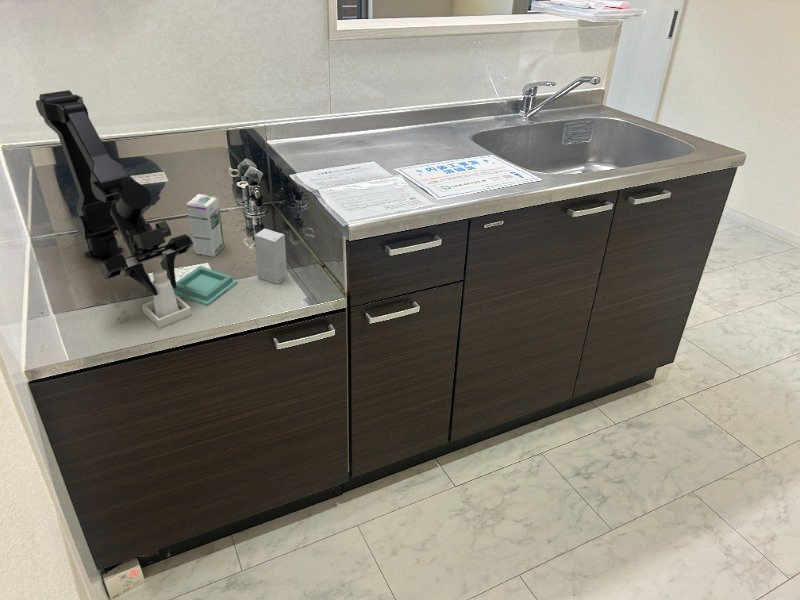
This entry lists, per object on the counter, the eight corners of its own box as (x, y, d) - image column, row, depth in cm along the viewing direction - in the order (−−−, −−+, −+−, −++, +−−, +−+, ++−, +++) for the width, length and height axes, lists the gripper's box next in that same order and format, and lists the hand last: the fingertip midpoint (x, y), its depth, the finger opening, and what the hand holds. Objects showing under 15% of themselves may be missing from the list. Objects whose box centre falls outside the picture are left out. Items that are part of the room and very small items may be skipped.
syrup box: (215, 257, 154) (208, 206, 146) (193, 253, 155) (185, 202, 147) (224, 246, 159) (219, 196, 150) (203, 243, 159) (197, 192, 151)
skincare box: (287, 276, 149) (285, 234, 142) (277, 284, 146) (275, 241, 139) (267, 269, 151) (264, 227, 144) (257, 277, 148) (253, 234, 141)
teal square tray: (169, 292, 140) (168, 285, 139) (200, 270, 149) (199, 263, 148) (207, 306, 137) (206, 298, 136) (237, 282, 145) (236, 275, 144)
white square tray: (143, 312, 134) (141, 304, 132) (175, 299, 138) (173, 292, 137) (159, 328, 129) (157, 320, 128) (191, 314, 134) (190, 307, 133)
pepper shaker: (171, 303, 137) (163, 262, 130) (185, 313, 134) (178, 271, 128) (149, 313, 133) (140, 271, 127) (163, 323, 131) (155, 281, 124)
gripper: (93, 225, 117) (130, 297, 117) (183, 200, 128) (216, 266, 128) (86, 244, 126) (120, 311, 126) (170, 219, 137) (201, 281, 137)
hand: (165, 291), depth 129 cm, fingers closed on pepper shaker, 4 cm apart
